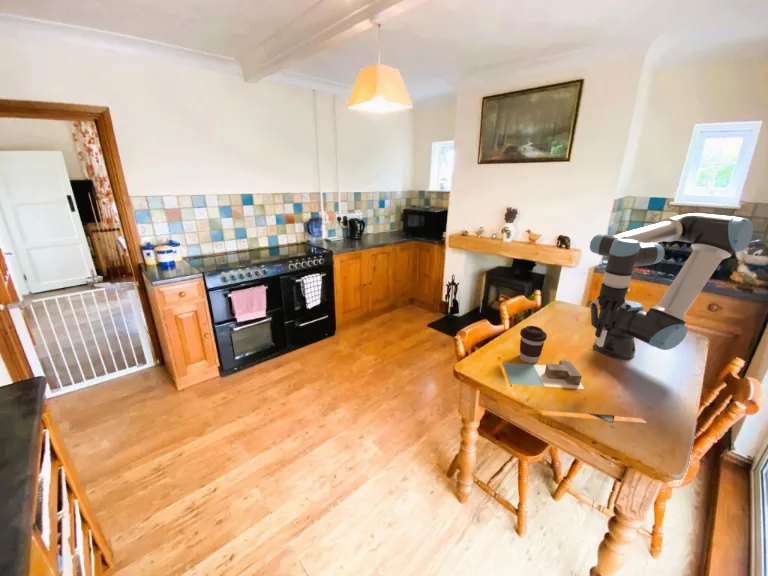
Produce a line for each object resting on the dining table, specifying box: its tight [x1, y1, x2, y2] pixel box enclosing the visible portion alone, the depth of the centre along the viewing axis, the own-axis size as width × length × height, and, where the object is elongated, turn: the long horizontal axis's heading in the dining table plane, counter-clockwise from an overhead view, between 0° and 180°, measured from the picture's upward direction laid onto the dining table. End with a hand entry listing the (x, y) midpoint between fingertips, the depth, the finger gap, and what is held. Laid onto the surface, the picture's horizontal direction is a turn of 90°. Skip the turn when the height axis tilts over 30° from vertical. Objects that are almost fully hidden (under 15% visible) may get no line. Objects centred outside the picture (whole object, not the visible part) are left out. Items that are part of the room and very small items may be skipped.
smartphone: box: [588, 413, 616, 424], centre depth 111 cm, size 7×1×15 cm
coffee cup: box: [519, 325, 548, 364], centre depth 135 cm, size 10×10×15 cm
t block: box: [545, 360, 583, 385], centre depth 124 cm, size 10×10×4 cm
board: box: [502, 362, 585, 390], centre depth 126 cm, size 26×14×1 cm, turn 83°
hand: (598, 344), depth 119 cm, fingers closed
